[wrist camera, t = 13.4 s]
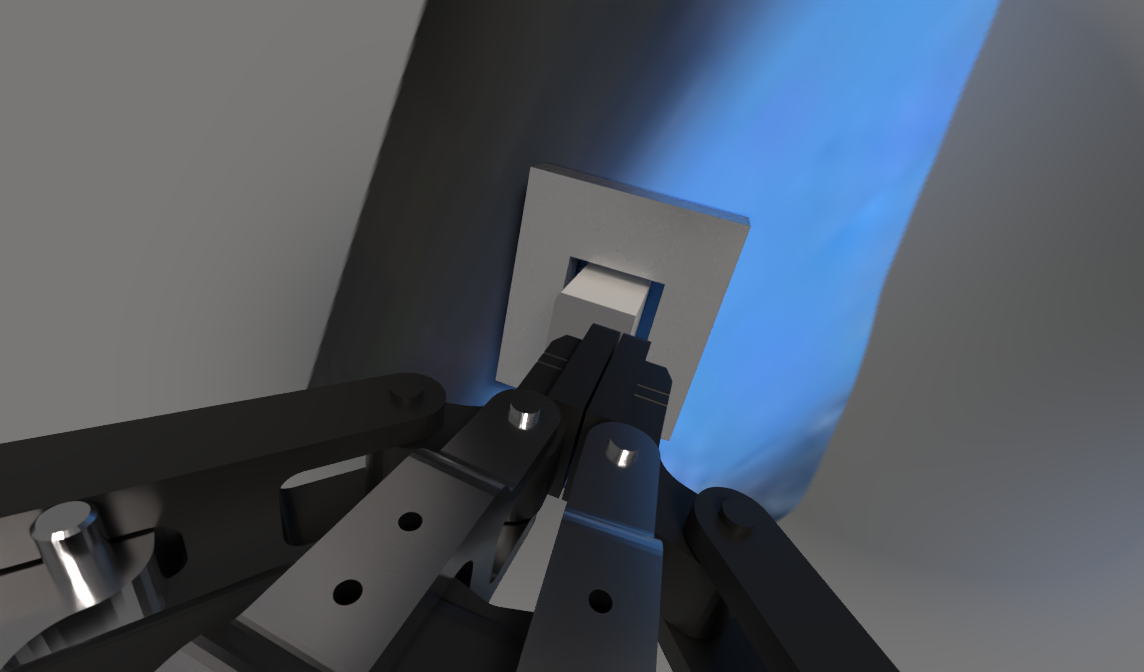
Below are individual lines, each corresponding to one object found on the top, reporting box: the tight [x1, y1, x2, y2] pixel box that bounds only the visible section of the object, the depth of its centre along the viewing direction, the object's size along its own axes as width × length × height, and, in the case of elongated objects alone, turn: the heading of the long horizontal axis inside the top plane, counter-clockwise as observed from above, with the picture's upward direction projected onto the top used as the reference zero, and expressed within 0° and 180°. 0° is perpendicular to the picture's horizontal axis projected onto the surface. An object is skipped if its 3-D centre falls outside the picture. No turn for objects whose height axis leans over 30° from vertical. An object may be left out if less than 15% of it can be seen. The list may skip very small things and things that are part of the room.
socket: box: [496, 163, 751, 441], centre depth 30 cm, size 14×12×3 cm
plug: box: [544, 262, 652, 351], centre depth 28 cm, size 4×4×7 cm
